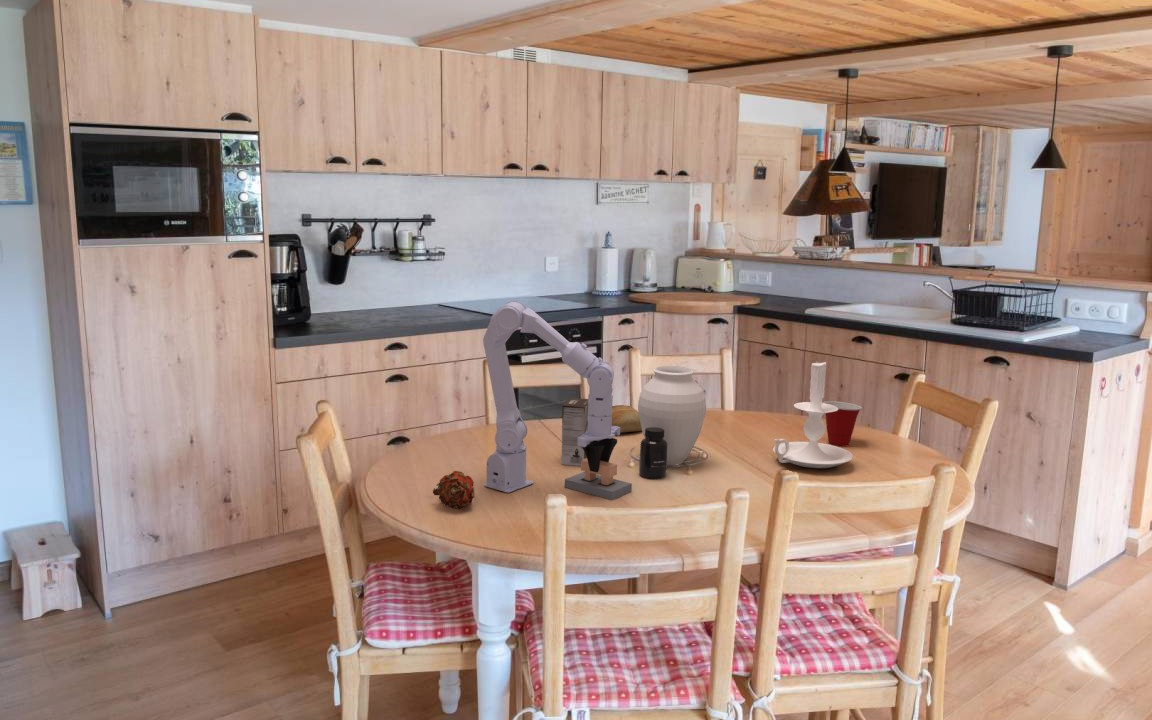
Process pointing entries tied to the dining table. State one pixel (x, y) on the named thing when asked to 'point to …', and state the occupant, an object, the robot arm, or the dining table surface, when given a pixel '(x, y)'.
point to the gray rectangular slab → (598, 486)
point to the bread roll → (626, 418)
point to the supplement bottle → (653, 454)
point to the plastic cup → (841, 422)
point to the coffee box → (573, 430)
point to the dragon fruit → (455, 490)
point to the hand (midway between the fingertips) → (598, 469)
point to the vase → (673, 409)
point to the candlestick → (813, 430)
